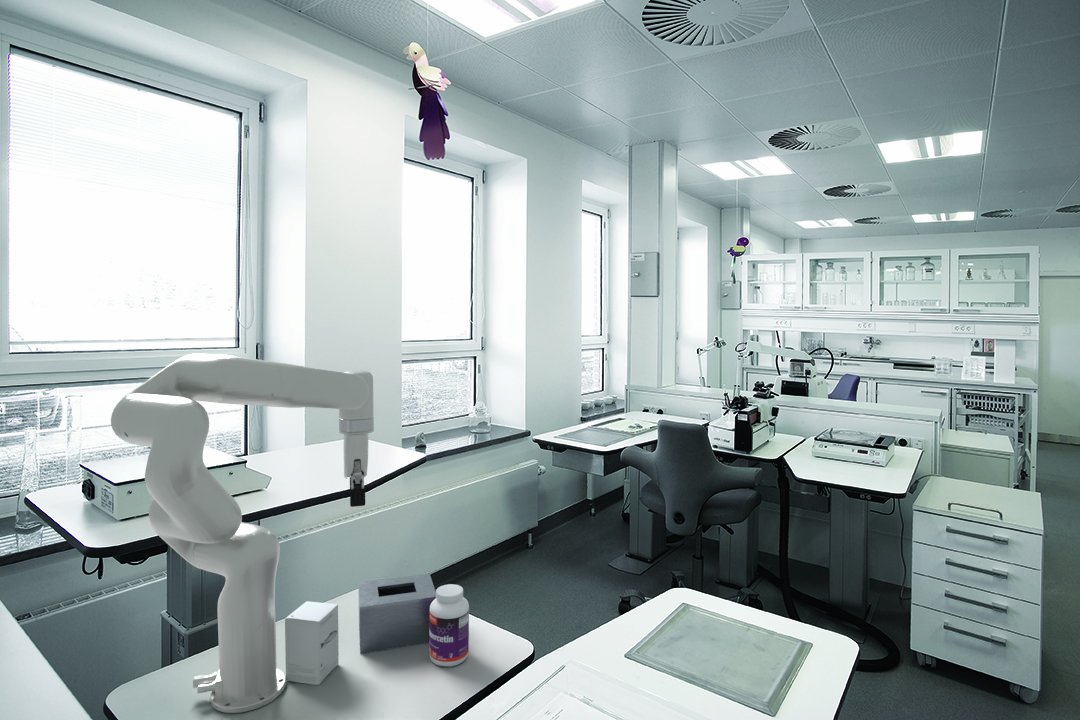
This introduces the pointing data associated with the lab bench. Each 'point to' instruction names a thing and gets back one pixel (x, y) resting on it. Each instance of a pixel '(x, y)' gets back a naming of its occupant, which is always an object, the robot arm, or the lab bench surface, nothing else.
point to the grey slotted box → (395, 612)
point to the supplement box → (311, 642)
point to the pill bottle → (449, 626)
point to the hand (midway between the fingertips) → (357, 499)
